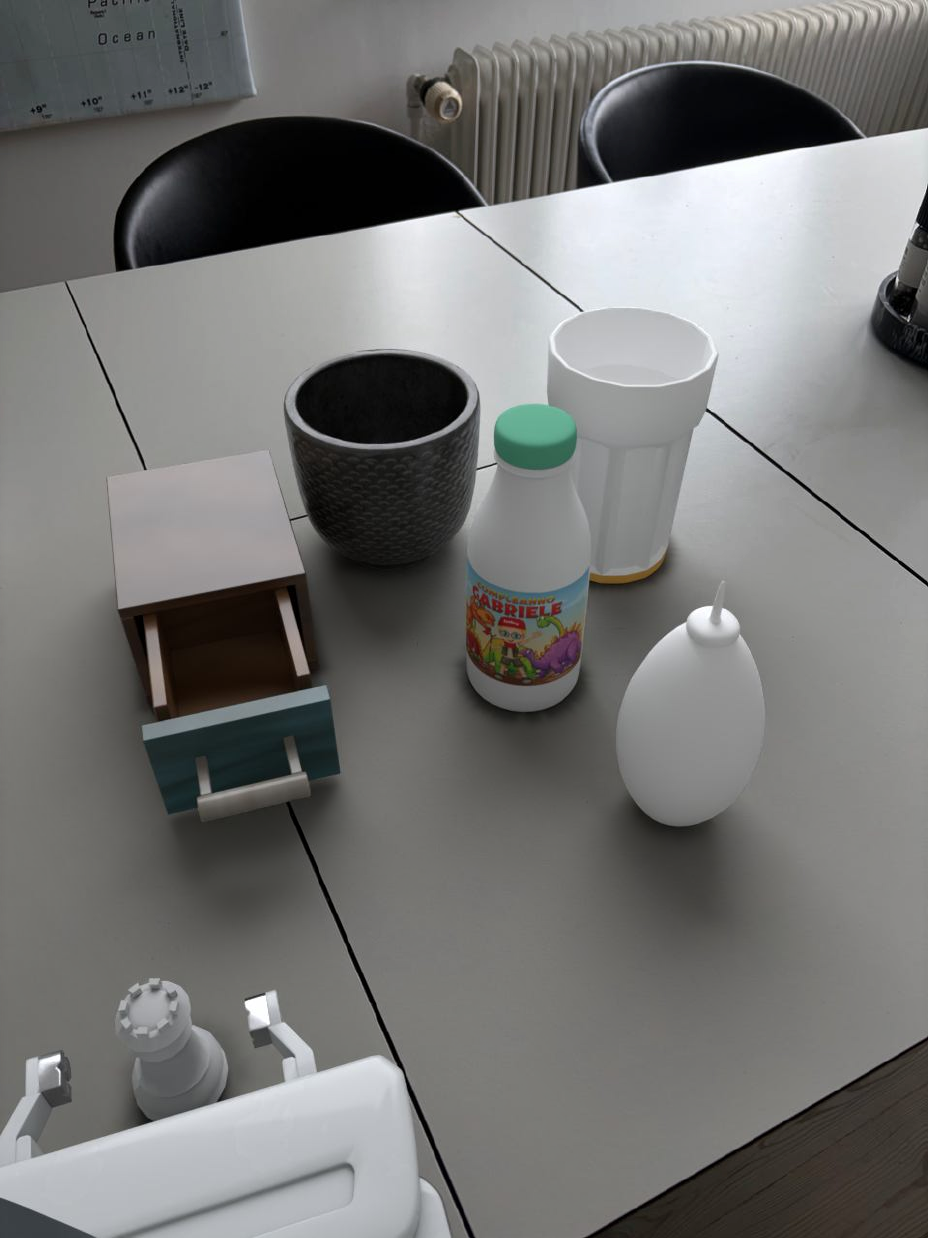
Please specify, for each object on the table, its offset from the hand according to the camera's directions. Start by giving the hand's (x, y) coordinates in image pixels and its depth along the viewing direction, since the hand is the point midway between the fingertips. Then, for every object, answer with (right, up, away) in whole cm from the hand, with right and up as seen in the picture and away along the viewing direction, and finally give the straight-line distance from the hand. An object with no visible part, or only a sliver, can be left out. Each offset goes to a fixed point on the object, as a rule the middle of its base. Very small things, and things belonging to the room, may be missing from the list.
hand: (157, 1028), depth 45 cm
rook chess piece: (0, -4, +4) cm, 6 cm away
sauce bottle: (+26, +7, +16) cm, 32 cm away
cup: (+25, +24, +34) cm, 48 cm away
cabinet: (-4, +19, +28) cm, 34 cm away
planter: (+8, +25, +34) cm, 43 cm away
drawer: (0, +11, +18) cm, 21 cm away
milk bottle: (+18, +15, +24) cm, 33 cm away
